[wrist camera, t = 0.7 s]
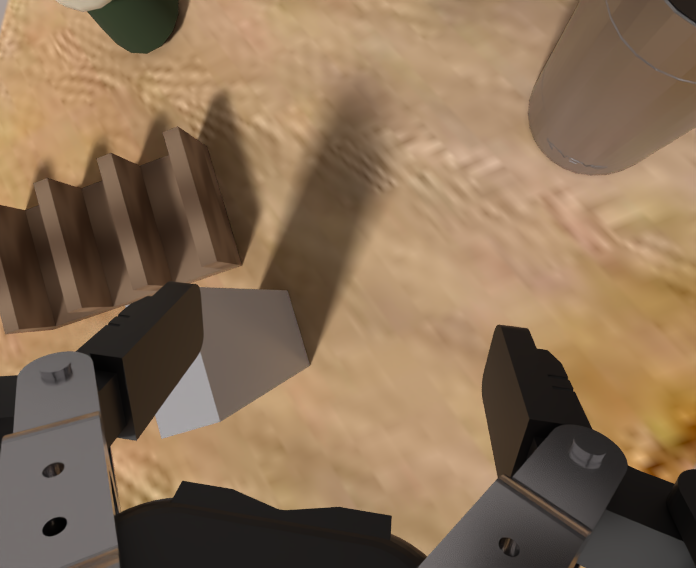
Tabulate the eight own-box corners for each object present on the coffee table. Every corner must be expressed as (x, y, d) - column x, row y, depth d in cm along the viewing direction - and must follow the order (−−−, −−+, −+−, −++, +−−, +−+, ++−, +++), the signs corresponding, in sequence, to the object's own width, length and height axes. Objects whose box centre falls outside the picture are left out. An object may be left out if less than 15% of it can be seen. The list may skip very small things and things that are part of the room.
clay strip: (254, 301, 36) (125, 305, 21) (287, 290, 36) (181, 286, 20) (276, 375, 36) (161, 438, 20) (310, 365, 36) (220, 421, 20)
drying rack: (23, 217, 40) (-27, 207, 35) (206, 146, 37) (177, 126, 33) (52, 329, 39) (5, 334, 35) (241, 265, 37) (217, 261, 32)
